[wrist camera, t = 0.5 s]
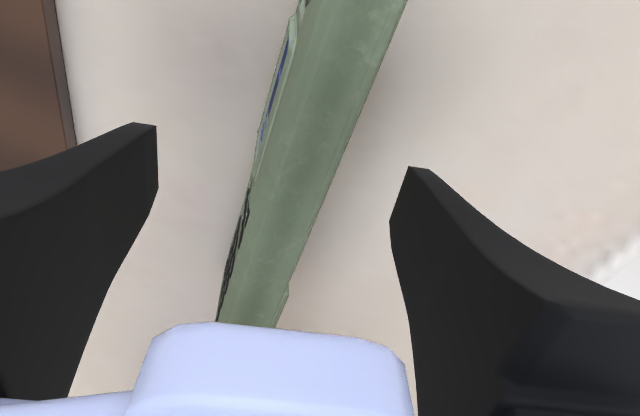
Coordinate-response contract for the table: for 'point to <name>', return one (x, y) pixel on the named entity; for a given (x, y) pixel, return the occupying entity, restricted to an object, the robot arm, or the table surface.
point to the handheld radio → (301, 146)
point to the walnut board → (32, 85)
